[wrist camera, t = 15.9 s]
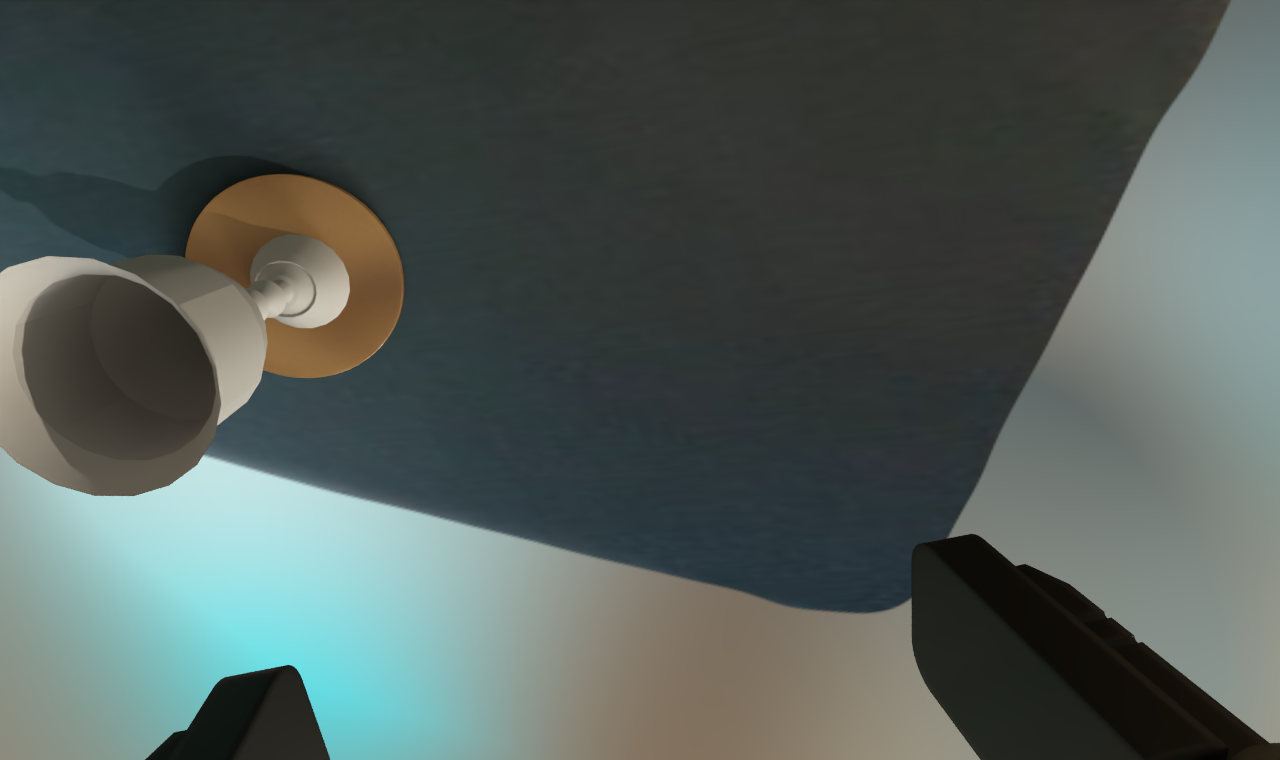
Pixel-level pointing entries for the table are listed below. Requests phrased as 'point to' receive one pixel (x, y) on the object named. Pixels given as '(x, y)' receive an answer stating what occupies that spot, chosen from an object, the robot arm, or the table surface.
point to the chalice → (143, 357)
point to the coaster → (335, 219)
